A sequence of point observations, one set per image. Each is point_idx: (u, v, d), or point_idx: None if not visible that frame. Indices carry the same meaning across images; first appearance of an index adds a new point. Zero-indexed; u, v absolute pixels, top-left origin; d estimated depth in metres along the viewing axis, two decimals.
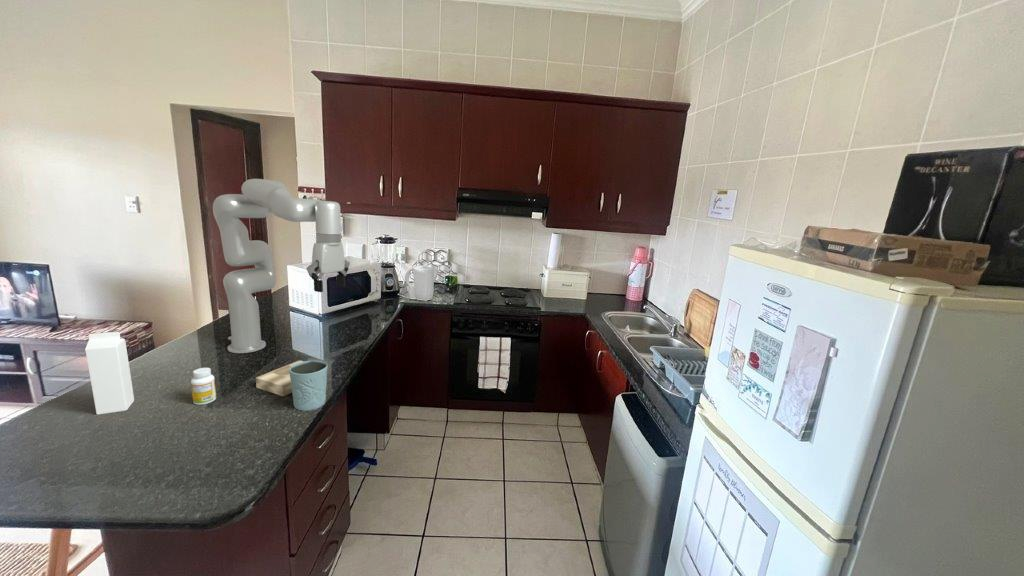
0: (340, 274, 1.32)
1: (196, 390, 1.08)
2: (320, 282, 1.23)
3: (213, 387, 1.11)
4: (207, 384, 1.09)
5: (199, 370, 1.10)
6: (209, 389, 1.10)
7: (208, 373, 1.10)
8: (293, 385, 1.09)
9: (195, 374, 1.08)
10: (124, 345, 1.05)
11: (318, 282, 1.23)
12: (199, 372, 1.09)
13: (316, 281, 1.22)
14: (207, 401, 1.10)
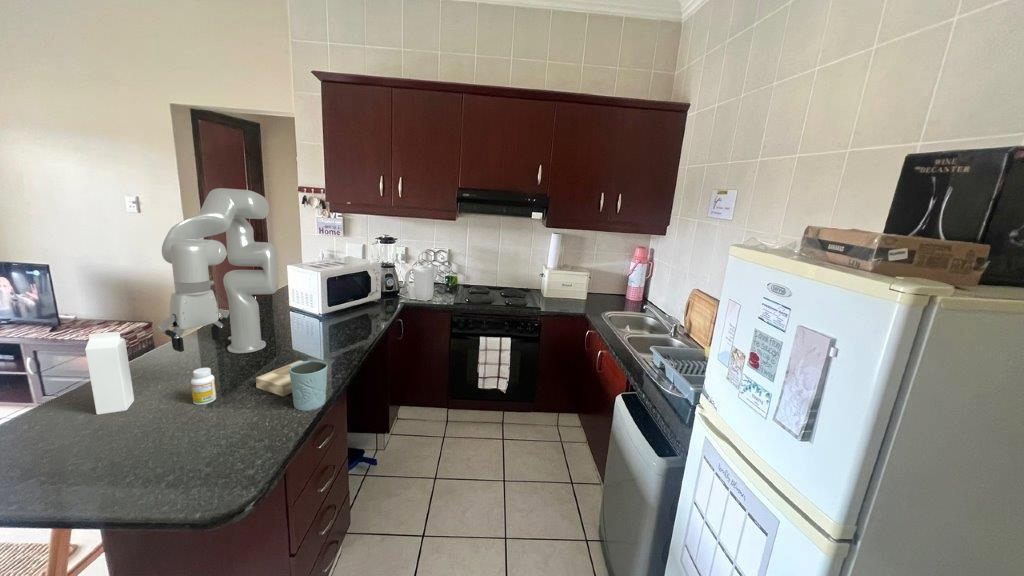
0: (215, 326, 1.11)
1: (196, 390, 1.08)
2: (179, 340, 1.02)
3: (213, 387, 1.11)
4: (207, 384, 1.09)
5: (199, 370, 1.10)
6: (209, 389, 1.10)
7: (208, 373, 1.10)
8: (293, 385, 1.09)
9: (195, 374, 1.08)
10: (124, 345, 1.05)
11: (176, 340, 1.02)
12: (199, 372, 1.09)
13: (174, 339, 1.02)
14: (207, 401, 1.10)
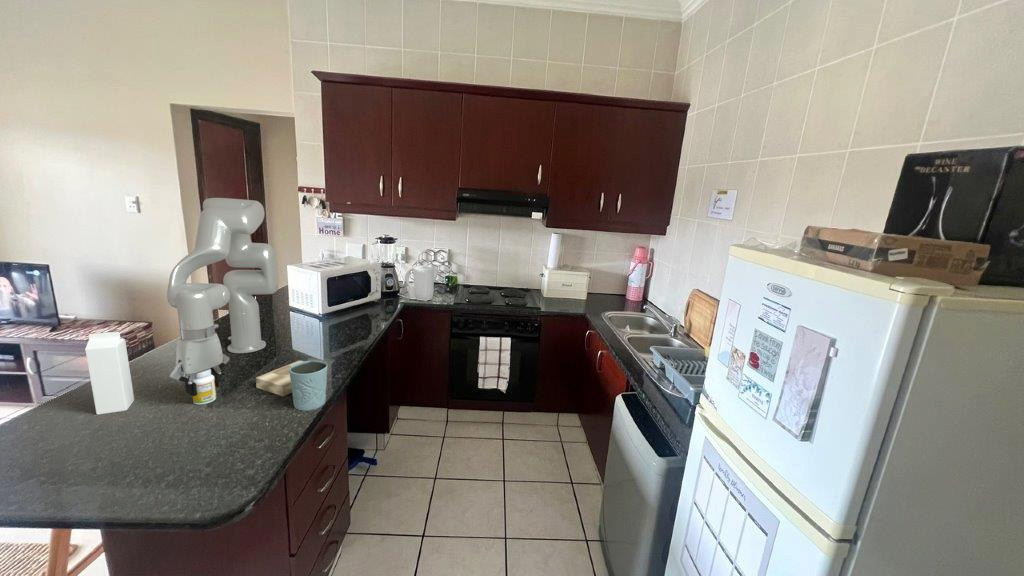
0: (213, 372, 1.13)
1: None
2: (193, 385, 1.07)
3: (213, 387, 1.11)
4: (207, 384, 1.09)
5: None
6: (209, 389, 1.10)
7: (208, 373, 1.10)
8: (293, 385, 1.09)
9: (195, 374, 1.08)
10: (124, 345, 1.05)
11: (190, 385, 1.07)
12: (199, 372, 1.09)
13: (187, 384, 1.07)
14: (207, 401, 1.10)
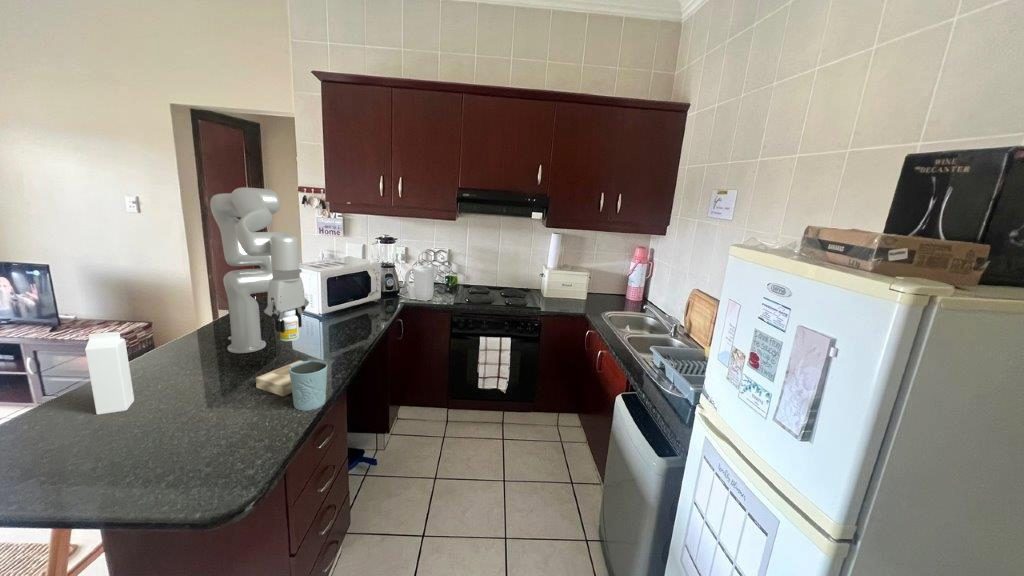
0: (296, 314, 1.24)
1: None
2: (282, 322, 1.18)
3: (297, 326, 1.23)
4: (293, 323, 1.21)
5: None
6: (295, 327, 1.21)
7: (294, 313, 1.21)
8: (293, 385, 1.09)
9: None
10: (124, 345, 1.05)
11: (279, 322, 1.18)
12: (287, 311, 1.20)
13: (277, 321, 1.18)
14: (293, 338, 1.21)
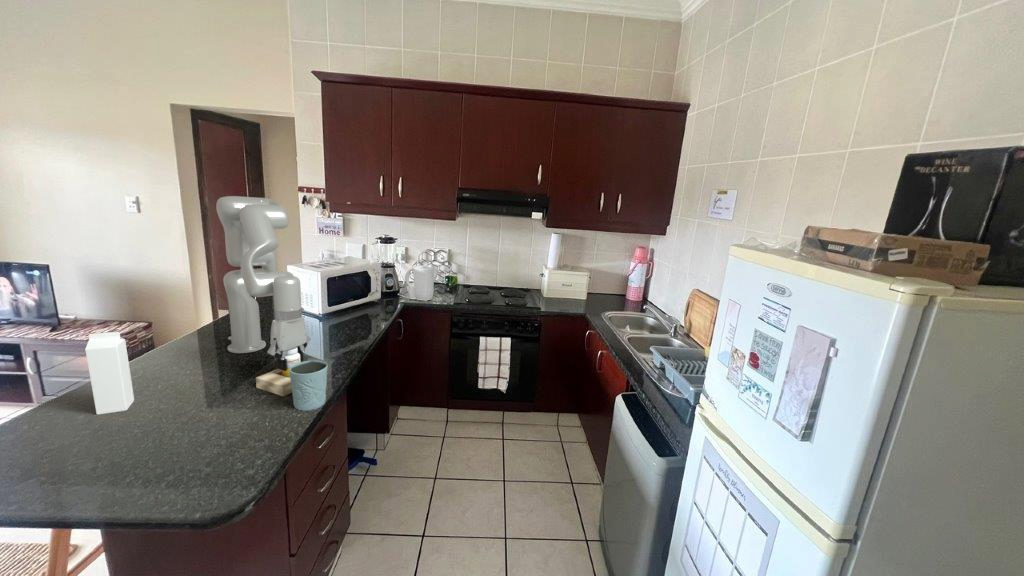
0: (298, 351, 1.27)
1: (287, 366, 1.22)
2: (284, 361, 1.21)
3: None
4: (296, 361, 1.24)
5: None
6: None
7: (296, 351, 1.24)
8: (293, 385, 1.09)
9: (286, 351, 1.22)
10: (124, 345, 1.05)
11: (282, 361, 1.21)
12: (289, 350, 1.23)
13: (280, 360, 1.21)
14: None
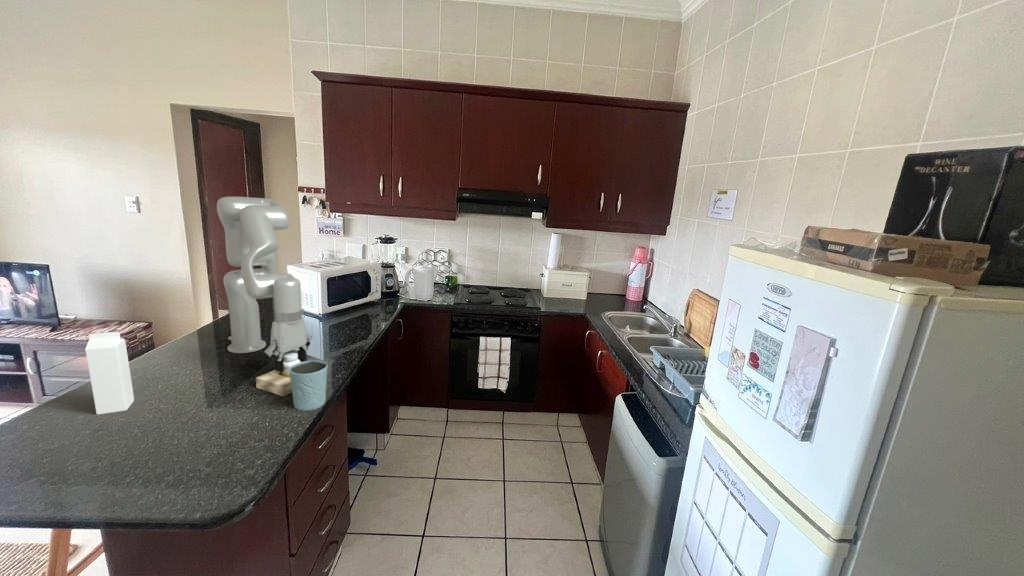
0: (301, 349, 1.28)
1: (287, 372, 1.23)
2: (281, 362, 1.20)
3: None
4: None
5: (288, 354, 1.24)
6: None
7: (296, 357, 1.25)
8: (293, 385, 1.09)
9: (286, 358, 1.23)
10: (124, 345, 1.05)
11: (278, 362, 1.20)
12: (289, 356, 1.23)
13: (276, 361, 1.20)
14: None
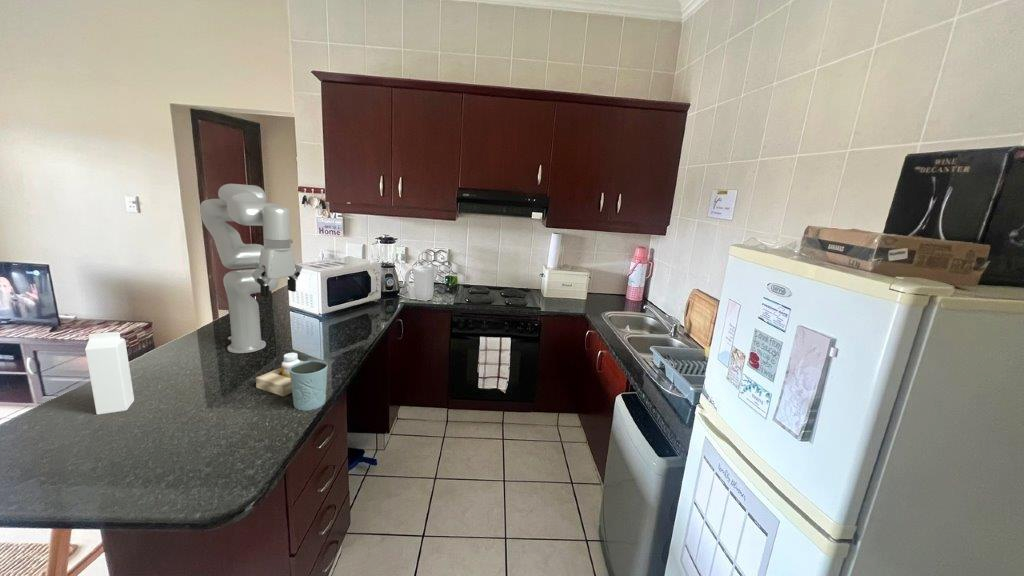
0: (291, 279, 1.32)
1: (287, 372, 1.23)
2: (267, 288, 1.22)
3: None
4: None
5: (288, 354, 1.24)
6: None
7: (296, 357, 1.25)
8: (293, 385, 1.09)
9: (286, 358, 1.23)
10: (124, 345, 1.05)
11: (264, 287, 1.22)
12: (289, 356, 1.23)
13: (262, 286, 1.22)
14: None
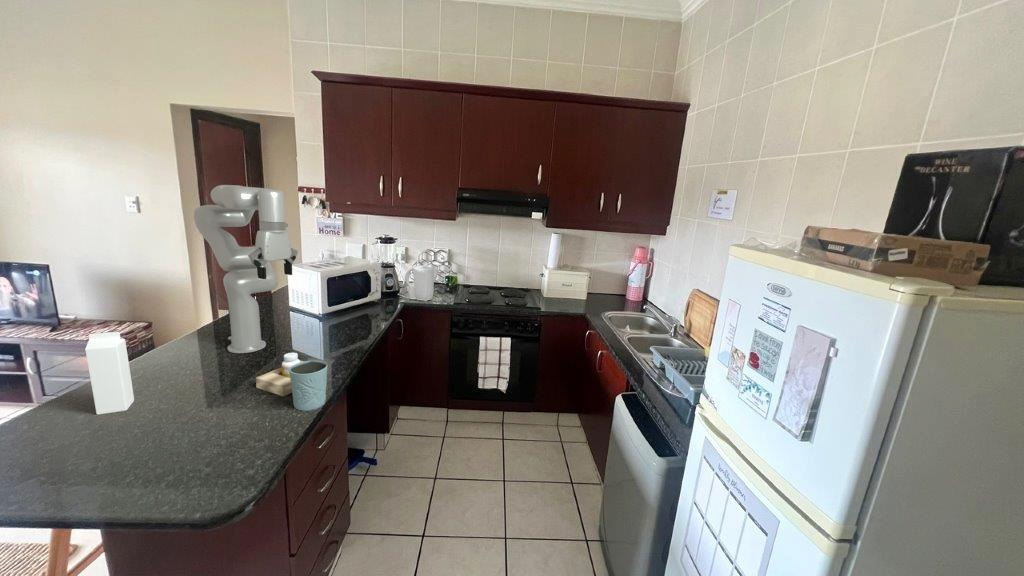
0: (287, 262, 1.34)
1: (287, 372, 1.23)
2: (263, 269, 1.25)
3: None
4: None
5: (288, 354, 1.24)
6: None
7: (296, 357, 1.25)
8: (293, 385, 1.09)
9: (286, 358, 1.23)
10: (124, 345, 1.05)
11: (261, 269, 1.25)
12: (289, 356, 1.23)
13: (259, 268, 1.24)
14: None
